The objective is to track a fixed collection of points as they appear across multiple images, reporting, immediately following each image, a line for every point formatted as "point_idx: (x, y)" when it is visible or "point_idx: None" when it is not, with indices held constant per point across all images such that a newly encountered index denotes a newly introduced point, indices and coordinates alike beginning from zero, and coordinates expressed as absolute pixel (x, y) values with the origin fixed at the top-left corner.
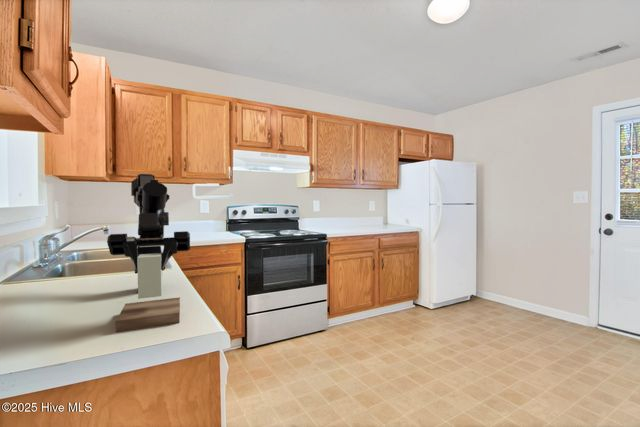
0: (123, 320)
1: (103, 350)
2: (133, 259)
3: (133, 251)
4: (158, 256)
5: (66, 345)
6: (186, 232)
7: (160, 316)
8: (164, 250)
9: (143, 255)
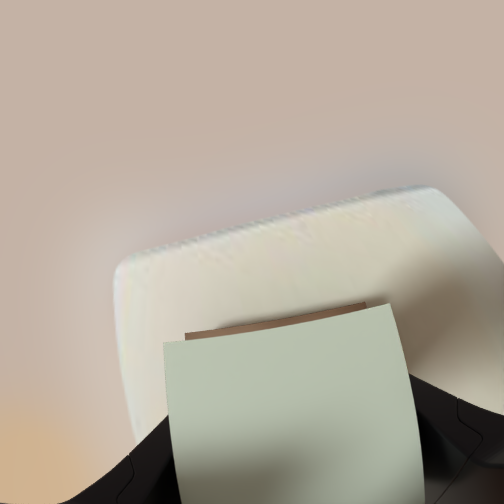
0: (345, 307)
1: (337, 224)
2: (438, 388)
3: (491, 432)
4: (184, 342)
5: (427, 263)
6: None
7: (241, 326)
8: (129, 495)
9: (372, 440)
